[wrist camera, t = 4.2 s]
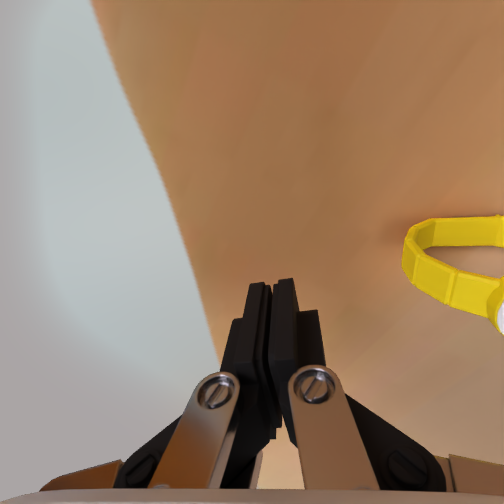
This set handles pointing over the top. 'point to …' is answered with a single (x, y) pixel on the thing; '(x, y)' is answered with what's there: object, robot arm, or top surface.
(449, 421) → the top surface
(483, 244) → the watch
